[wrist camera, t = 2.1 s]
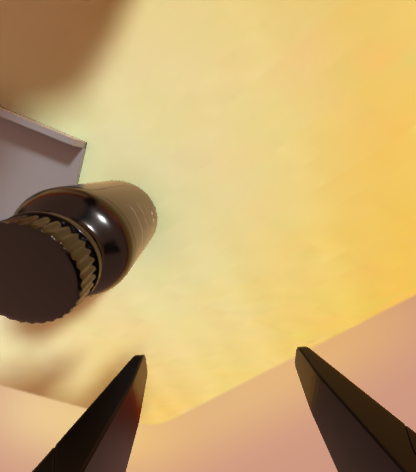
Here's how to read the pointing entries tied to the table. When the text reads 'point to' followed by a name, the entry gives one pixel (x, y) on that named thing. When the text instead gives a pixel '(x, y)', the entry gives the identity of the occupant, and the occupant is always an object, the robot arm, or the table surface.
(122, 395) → the robot arm
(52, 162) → the tray
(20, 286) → the supplement bottle
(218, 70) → the table surface
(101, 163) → the table surface
